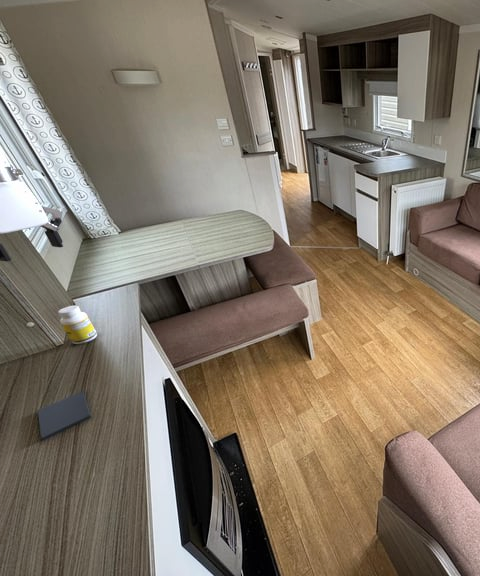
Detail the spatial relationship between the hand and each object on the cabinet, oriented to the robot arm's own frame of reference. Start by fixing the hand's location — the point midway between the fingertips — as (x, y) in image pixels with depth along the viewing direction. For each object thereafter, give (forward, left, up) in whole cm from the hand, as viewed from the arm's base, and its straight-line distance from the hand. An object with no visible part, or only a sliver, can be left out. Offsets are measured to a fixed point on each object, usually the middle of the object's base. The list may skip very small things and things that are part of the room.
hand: (33, 253), depth 72 cm
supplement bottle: (-1, +2, -26) cm, 26 cm away
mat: (+11, -28, -26) cm, 40 cm away
